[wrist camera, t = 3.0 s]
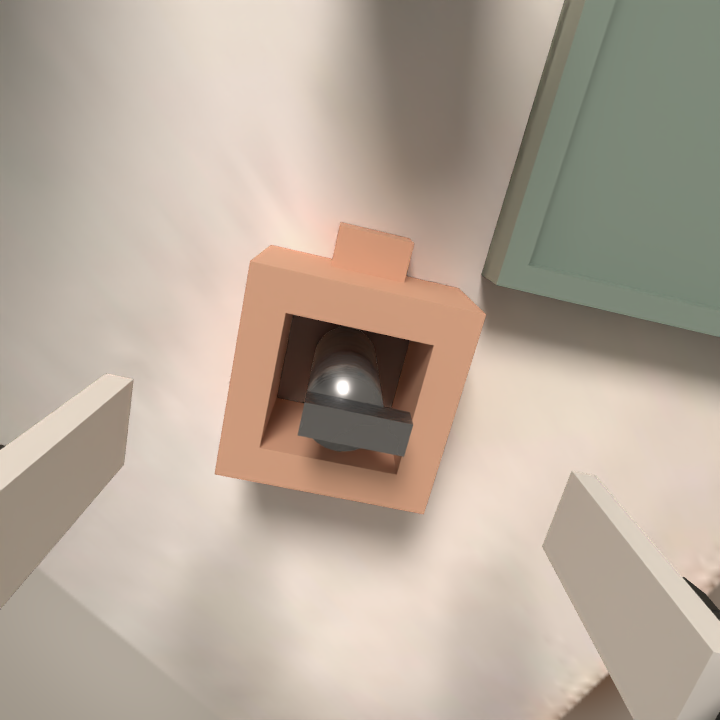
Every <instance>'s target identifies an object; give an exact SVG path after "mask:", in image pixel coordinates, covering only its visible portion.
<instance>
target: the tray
mask: <svg viewBox="0 0 720 720" xmlns="http://www.w3.org/2000/svg"><path fill="white" fill-rule="evenodd" d="M481 275H483V276H484V277H485V278H487V279H488V280H490V281H491V282H493V283H494V284H495V285H498V286H502V287H507V288H511V289H515V290H520V291H524V292H528V293H533V294H537V295H541V296H545V297H550V298H554V299H558V300H563V301H567V302H571V303H575V304H580V305H584V306H588V307H593V308H597V309H601V310H605V311H610V312H614V313H618V314H623V315H627V316H631V317H636V318H640V319H644V320H648V321H653V322H657V323H661V324H666V325H670V326H674V327H678V328H683V329H687V330H691V331H696V332H700V333H704V334H708V335H713V336H717V337H720V0H565V1H564V4H563V7H562V11H561V14H560V17H559V20H558V24H557V27H556V30H555V34H554V37H553V40H552V44H551V47H550V50H549V53H548V57H547V60H546V63H545V67H544V70H543V73H542V77H541V80H540V83H539V86H538V90H537V93H536V96H535V100H534V103H533V106H532V110H531V113H530V116H529V119H528V123H527V126H526V129H525V133H524V136H523V139H522V143H521V146H520V149H519V152H518V156H517V159H516V162H515V166H514V169H513V172H512V176H511V179H510V182H509V185H508V189H507V192H506V195H505V199H504V202H503V205H502V209H501V212H500V215H499V218H498V222H497V225H496V228H495V232H494V235H493V238H492V241H491V245H490V248H489V251H488V255H487V258H486V261H485V265H484V268H483V271H482V274H481Z"/></svg>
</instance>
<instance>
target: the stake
mask: <svg viewBox="0 0 720 720" xmlns="http://www.w3.org/2000/svg"><path fill="white" fill-rule="evenodd" d="M412 428H413V421H412V418H411V414H410V412H407V411H402V410H397V409H392V408H388V407H384V405H383V399H382V392H381V385H380V379H379V372H378V365H377V359H376V352H375V348H374V345H373V343H372V341H371V340H370V338H369V337H368V336H367V335H366V334H364V333H363V332H361V331H360V330H357V329H355V328H351V327H340V328H336V329H333V330H331V331H329V332H327V333H326V334H325V335H324V336H323V337H322V338H321V339H320V341H319V342H318V344H317V346H316V350H315V354H314V359H313V364H312V369H311V374H310V378H309V383H308V388H307V393H306V398H305V402H304V407H303V412H302V416H301V421H300V426H299V430H298V436H303V437H308V438H313V439H314V440H315V441H316V442H317V443H319V444H320V445H322V446H323V447H325V448H328V449H331V450H334V451H353V450H357V449H360V448H362V449H367V450H372V451H377V452H382V453H387V454H392V455H397V456H402V457H404V455H405V452H406V448H407V445H408V442H409V438H410V435H411V431H412Z"/></svg>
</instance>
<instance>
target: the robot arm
mask: <svg viewBox="0 0 720 720" xmlns="http://www.w3.org/2000/svg"><path fill="white" fill-rule="evenodd" d="M133 380H134V379H131V378H126V377H121V376H116V375H112V374H107V373H106V374H105V375H103V376H102V377H100V378H99V379H98V380H96V381H95V382H94V383H92V384H91V385H89V386H88V387H87V388H85V389H84V390H82V391H81V392H80V393H78V394H77V395H76V396H74V397H73V398H71V399H70V400H69V401H67V402H66V403H65V404H63V405H62V406H60V407H59V408H58V409H56V410H55V411H53V412H52V413H51V414H49V415H48V416H47V417H45V418H44V419H42V420H41V421H40V422H38V423H37V424H35V425H34V426H33V427H31V428H30V429H29V430H27V431H26V432H24V433H23V434H22V435H20V436H19V437H18V438H16V439H15V440H13V441H12V442H11V443H9V444H8V445H6V446H4V445H0V609H1V608H2V607H3V606H4V604H5V603H6V602H7V601H8V600H9V599H10V597H11V596H12V595H13V594H14V593H15V592H16V590H17V589H18V588H19V587H20V586H21V585H22V583H23V582H24V581H25V580H26V579H27V577H28V576H29V575H30V574H31V573H32V572H33V570H34V569H35V568H36V567H37V566H38V565H39V563H40V562H41V561H42V560H43V559H44V558H45V556H46V555H47V554H48V553H49V552H50V551H51V549H52V548H53V547H54V546H55V545H56V543H57V542H58V541H59V540H60V539H61V538H62V536H63V535H64V534H65V533H66V532H67V531H68V529H69V528H70V527H71V526H72V525H73V524H74V522H75V521H76V520H77V519H78V518H79V516H80V515H81V514H82V513H83V512H84V511H85V509H86V508H87V507H88V506H89V505H90V504H91V502H92V501H93V500H94V499H95V498H96V497H97V495H98V494H99V493H100V492H101V491H102V490H103V488H104V487H105V486H106V485H107V484H108V482H109V481H110V480H111V479H112V478H113V477H114V475H115V474H116V473H117V472H118V471H119V470H120V468H121V467H122V466H123V465H124V460H125V451H126V442H127V433H128V424H129V415H130V406H131V397H132V388H133ZM542 547H543V549H544V551H545V553H546V555H547V557H548V559H549V561H550V562H551V564H552V566H553V568H554V570H555V572H556V574H557V576H558V578H559V579H560V581H561V583H562V585H563V587H564V589H565V591H566V593H567V595H568V596H569V598H570V600H571V602H572V604H573V606H574V608H575V610H576V612H577V613H578V615H579V617H580V619H581V621H582V623H583V625H584V627H585V629H586V630H587V632H588V634H589V636H590V638H591V640H592V642H593V644H594V646H595V647H596V649H597V651H598V653H599V655H600V657H601V659H602V661H603V663H604V664H605V666H606V668H607V670H608V672H609V674H610V676H611V678H612V679H613V681H614V683H615V685H616V687H617V689H618V691H619V693H620V695H621V696H622V698H623V700H624V702H625V704H626V706H627V708H628V710H629V711H630V714H631V715H632V717H633V719H634V720H720V610H719V609H718V608H717V607H716V606H715V605H714V603H713V602H712V601H711V600H710V599H709V598H708V596H707V595H706V594H705V593H704V592H702V591H701V590H700V589H699V588H697V587H696V586H695V585H693V584H692V583H691V582H690V581H688V580H687V579H686V578H685V577H682V576H681V575H680V574H679V573H678V572H677V571H676V569H675V568H674V567H673V566H672V565H671V563H670V562H669V561H668V560H667V559H666V558H665V556H664V555H663V554H662V553H661V552H660V551H659V549H658V548H657V547H656V546H655V545H654V544H653V542H652V541H651V540H650V539H649V538H648V536H647V535H646V534H645V533H644V532H643V531H642V529H641V528H640V527H639V526H638V525H637V524H636V522H635V521H634V520H633V519H632V518H631V517H630V515H629V514H628V513H627V512H626V511H625V509H624V508H623V507H622V506H621V505H620V504H619V502H618V501H617V500H616V499H615V498H614V497H613V495H612V494H611V493H610V492H609V491H608V490H607V488H606V487H605V486H604V485H603V484H602V482H601V481H600V480H599V479H598V478H597V477H596V476H595V475H590V474H585V473H580V472H576V471H572V472H571V474H570V477H569V479H568V482H567V484H566V487H565V489H564V492H563V495H562V497H561V500H560V502H559V505H558V507H557V510H556V512H555V515H554V517H553V520H552V523H551V525H550V528H549V530H548V533H547V535H546V538H545V540H544V543H543V546H542Z"/></svg>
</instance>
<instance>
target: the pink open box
mask: <svg viewBox="0 0 720 720" xmlns="http://www.w3.org/2000/svg"><path fill="white" fill-rule="evenodd" d="M413 247H414V242H412V241H411V240H410V239H409V238H406V237H401V236H397V235H393V234H389V233H385V232H380V231H376V230H372V229H368V228H364V227H359V226H355V225H351V224H347V223H343V222H340V227H339V231H338V236H337V241H336V245H335V250H334V255H333V259H330V258H325V257H321V256H317V255H312V254H308V253H304V252H299V251H295V250H291V249H286V248H282V247H278V246H273V245H270V246H269V247H268V248H266V249H265V250H264V251H262V252H261V253H260V254H259V255H257V256H256V257H255V258H253V259H252V260H251V261H250V265H249V271H248V277H247V283H246V289H245V295H244V301H243V307H242V313H241V319H240V325H239V331H238V337H237V343H236V349H235V355H234V361H233V367H232V373H231V379H230V385H229V391H228V397H227V403H226V409H225V415H224V421H223V427H222V433H221V439H220V445H219V451H218V457H217V463H216V469H215V474H216V475H221V476H226V477H231V478H237V479H242V480H247V481H252V482H258V483H263V484H268V485H273V486H279V487H284V488H289V489H294V490H299V491H305V492H310V493H315V494H320V495H326V496H331V497H336V498H341V499H347V500H352V501H357V502H362V503H367V504H373V505H378V506H383V507H388V508H394V509H399V510H404V511H409V512H415V513H420V514H424V512H425V509H426V505H427V502H428V499H429V496H430V493H431V490H432V486H433V483H434V480H435V477H436V474H437V470H438V467H439V464H440V461H441V458H442V454H443V451H444V448H445V445H446V442H447V438H448V435H449V432H450V429H451V426H452V422H453V419H454V416H455V413H456V410H457V407H458V403H459V400H460V397H461V394H462V391H463V387H464V384H465V381H466V378H467V375H468V371H469V368H470V365H471V362H472V359H473V355H474V352H475V349H476V346H477V343H478V339H479V336H480V333H481V330H482V327H483V324H484V320H485V317H486V314H485V313H484V312H483V311H482V310H481V309H480V308H479V307H478V306H477V305H476V304H475V303H474V302H472V301H471V300H470V299H469V298H468V297H467V296H466V295H465V294H464V293H463V292H462V291H461V290H460V289H459V288H455V287H451V286H447V285H442V284H438V283H434V282H429V281H425V280H421V279H416V278H412V277H408V276H406V274H407V270H408V266H409V262H410V258H411V254H412V250H413ZM293 315H298V316H302V317H307V318H311V319H316V320H321V321H325V322H330V323H334V324H339V325H343V326H348V327H352V328H357V329H361V330H366V331H370V332H375V333H380V334H384V335H389V336H393V337H398V338H402V339H407V340H410V342H409V346H408V349H407V353H406V357H405V360H404V364H403V368H402V371H401V375H400V379H399V382H398V386H397V390H396V393H395V397H394V401H393V404H392V409H397V410H402V411H407V412H410V414H411V418H412V421H413V428H412V431H411V435H410V438H409V442H408V445H407V448H406V452H405V455H404V457H402V456H397V455H392V454H387V453H382V452H377V451H372V450H367V449H362V448H360V449H357V450H353V451H334V450H331V449H328V448H325V447H323V446H322V445H320V444H319V443H317V442H316V441H315V440H314V439H313V438H308V437H303V436H298V430H299V426H300V421H301V416H302V412H303V407H304V403H300V402H295V401H290V400H285V399H280V398H277V394H278V389H279V384H280V379H281V374H282V369H283V364H284V358H285V353H286V348H287V343H288V338H289V333H290V328H291V323H292V318H293Z"/></svg>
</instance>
